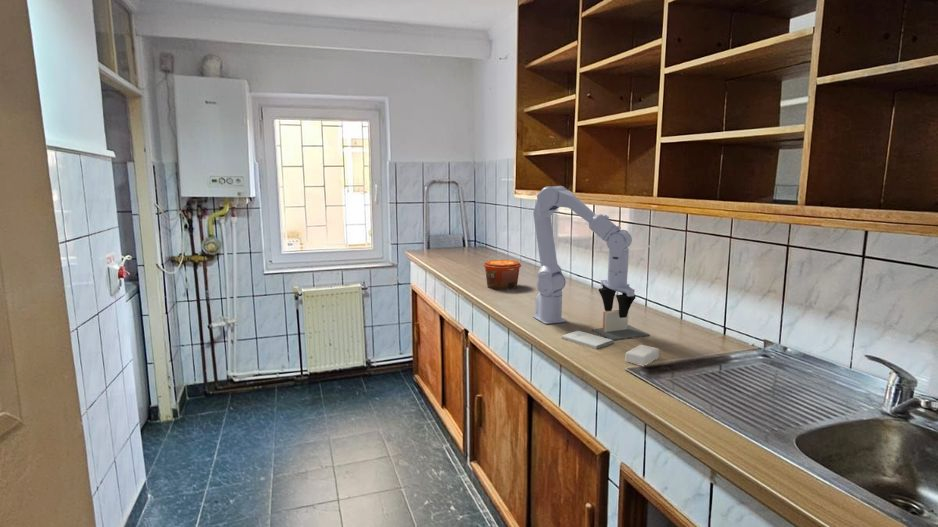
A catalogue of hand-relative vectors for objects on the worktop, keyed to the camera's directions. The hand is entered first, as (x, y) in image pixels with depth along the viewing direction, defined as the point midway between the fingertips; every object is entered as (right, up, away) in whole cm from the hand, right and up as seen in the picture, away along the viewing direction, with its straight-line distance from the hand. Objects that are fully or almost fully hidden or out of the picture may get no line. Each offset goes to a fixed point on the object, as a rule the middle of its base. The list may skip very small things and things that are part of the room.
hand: (615, 314), depth 159 cm
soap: (0, -10, -23) cm, 25 cm away
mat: (+1, -6, -1) cm, 6 cm away
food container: (-31, +5, +64) cm, 71 cm away
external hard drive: (-10, -8, -8) cm, 15 cm away
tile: (0, -5, +1) cm, 5 cm away
